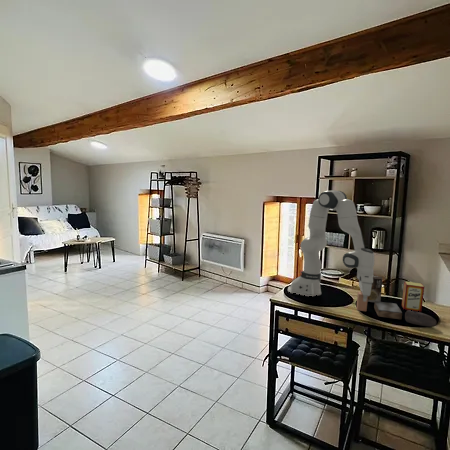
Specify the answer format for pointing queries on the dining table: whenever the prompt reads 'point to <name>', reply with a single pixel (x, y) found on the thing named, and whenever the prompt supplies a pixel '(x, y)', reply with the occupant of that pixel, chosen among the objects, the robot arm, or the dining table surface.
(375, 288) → the coffee box
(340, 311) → the dining table surface
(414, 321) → the perforated stone tool
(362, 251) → the robot arm
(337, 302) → the dining table surface
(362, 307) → the terracotta block
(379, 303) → the block
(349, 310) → the dining table surface
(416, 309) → the ginger box
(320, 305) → the dining table surface
